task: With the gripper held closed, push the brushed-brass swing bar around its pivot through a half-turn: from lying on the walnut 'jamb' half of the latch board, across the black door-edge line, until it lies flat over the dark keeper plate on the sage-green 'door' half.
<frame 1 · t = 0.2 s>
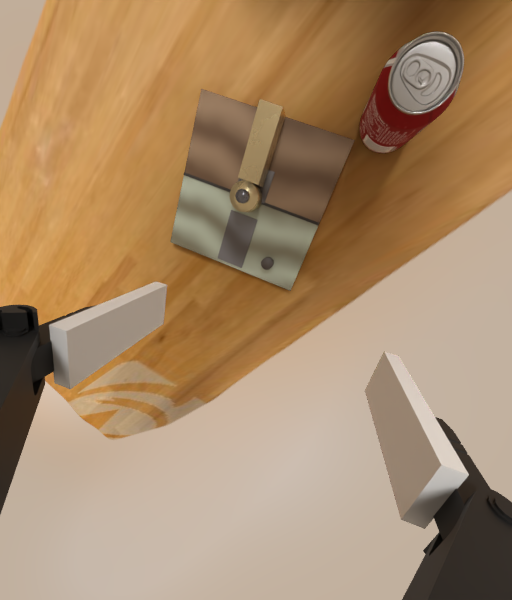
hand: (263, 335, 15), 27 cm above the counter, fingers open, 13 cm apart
latch board: (251, 198, 38), on the counter
swing bar: (255, 162, 33), point 3 cm above the counter, hinge at 0.0°
soda can: (386, 124, 32), on the counter
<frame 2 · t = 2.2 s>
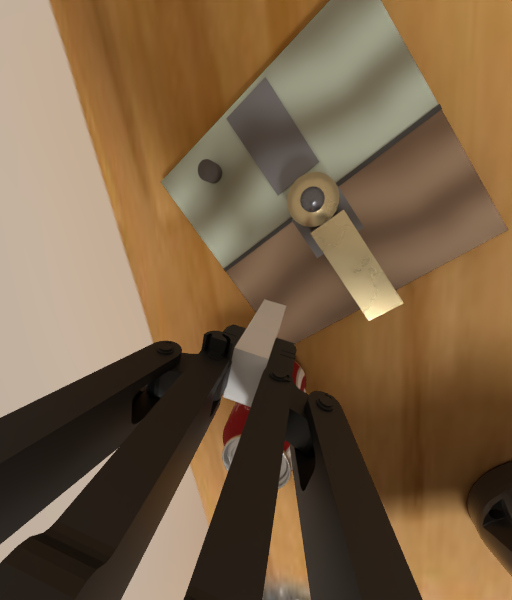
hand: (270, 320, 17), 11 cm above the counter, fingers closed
latch board: (313, 203, 24), on the counter
swing bar: (342, 246, 21), point 4 cm above the counter, hinge at 0.0°
soda can: (278, 374, 30), on the counter
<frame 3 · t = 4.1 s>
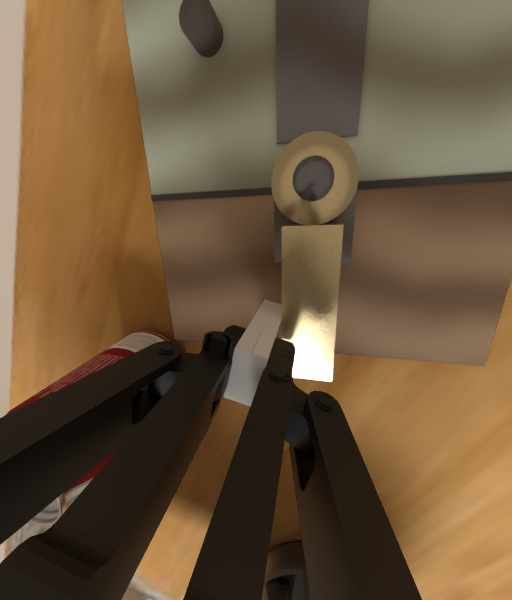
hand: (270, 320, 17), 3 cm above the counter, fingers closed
latch board: (314, 190, 16), on the counter
swing bar: (310, 270, 14), point 4 cm above the counter, hinge at 0.0°, touching gripper
soda can: (158, 358, 24), on the counter
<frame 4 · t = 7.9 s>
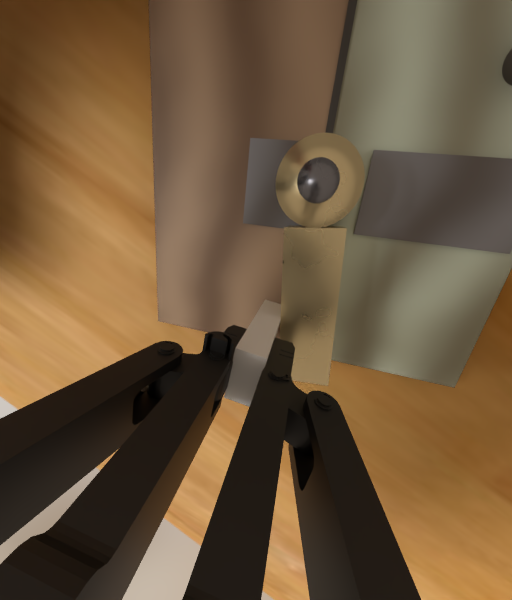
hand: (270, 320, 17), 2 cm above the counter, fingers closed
latch board: (318, 192, 16), on the counter
swing bar: (311, 273, 14), point 4 cm above the counter, hinge at 96.2°, touching gripper
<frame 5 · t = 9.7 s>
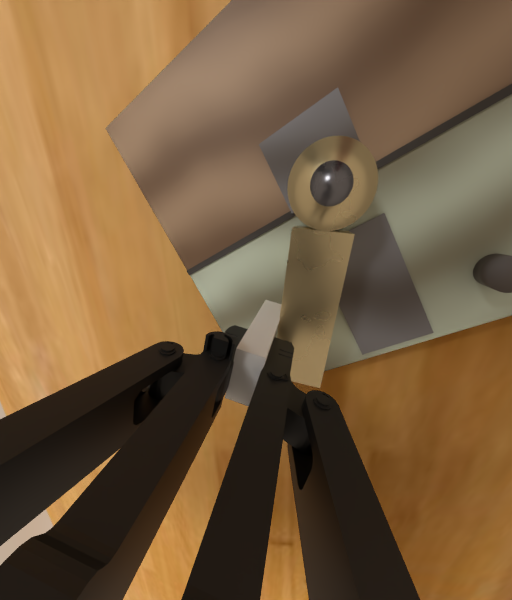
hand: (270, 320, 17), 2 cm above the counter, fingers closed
latch board: (328, 194, 16), on the counter
swing bar: (314, 275, 14), point 4 cm above the counter, hinge at 145.7°, touching gripper
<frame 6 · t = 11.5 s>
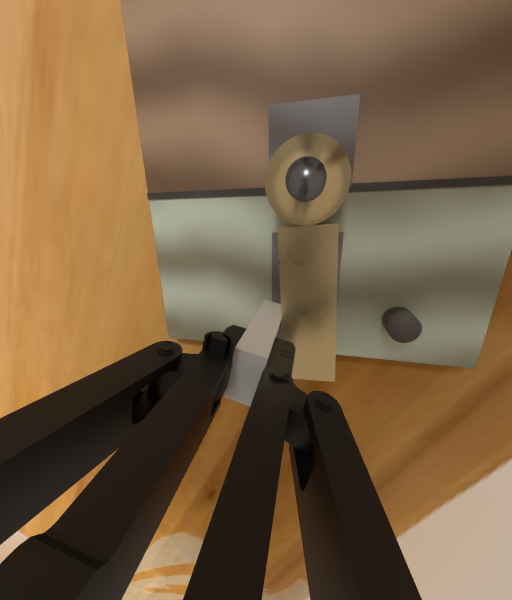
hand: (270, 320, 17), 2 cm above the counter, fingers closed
latch board: (309, 191, 16), on the counter
swing bar: (308, 270, 14), point 3 cm above the counter, hinge at 183.5°, touching gripper
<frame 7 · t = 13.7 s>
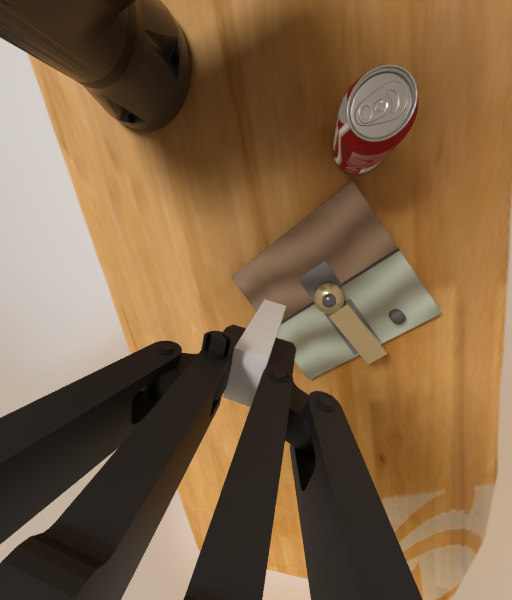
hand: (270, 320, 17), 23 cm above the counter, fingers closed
latch board: (327, 291, 38), on the counter
swing bar: (348, 321, 35), point 4 cm above the counter, hinge at 183.5°
soda can: (359, 147, 32), on the counter
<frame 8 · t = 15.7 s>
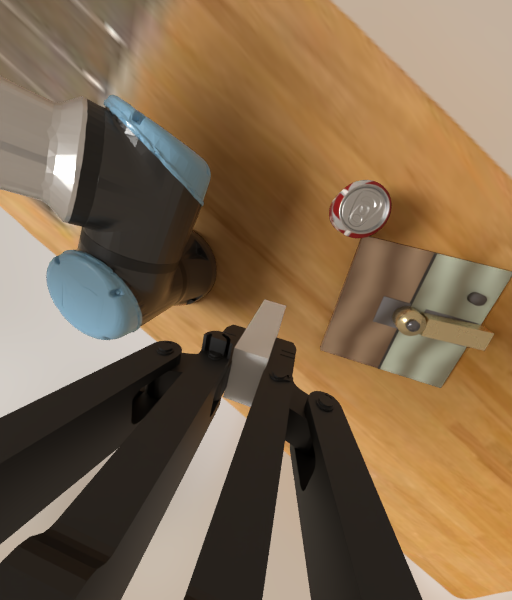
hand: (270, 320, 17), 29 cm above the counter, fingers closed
latch board: (402, 313, 43), on the counter
swing bar: (439, 328, 39), point 4 cm above the counter, hinge at 183.5°
soda can: (350, 211, 40), on the counter
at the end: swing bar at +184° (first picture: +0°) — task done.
